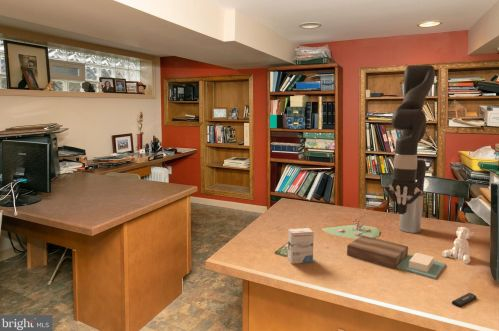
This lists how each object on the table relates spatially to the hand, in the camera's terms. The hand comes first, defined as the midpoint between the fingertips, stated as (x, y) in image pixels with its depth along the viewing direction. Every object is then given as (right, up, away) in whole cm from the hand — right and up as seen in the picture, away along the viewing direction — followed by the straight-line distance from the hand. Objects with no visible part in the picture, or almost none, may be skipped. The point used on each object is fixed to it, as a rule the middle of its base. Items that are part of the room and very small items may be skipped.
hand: (401, 213), depth 124 cm
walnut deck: (-6, -17, +8) cm, 20 cm away
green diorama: (-8, -14, +35) cm, 38 cm away
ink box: (-36, -18, +4) cm, 41 cm away
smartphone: (-38, -17, +15) cm, 44 cm away
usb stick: (+8, -23, -24) cm, 34 cm away
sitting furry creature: (+25, -18, +6) cm, 31 cm away
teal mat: (+6, -19, -1) cm, 20 cm away
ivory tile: (+6, -16, -2) cm, 17 cm away
